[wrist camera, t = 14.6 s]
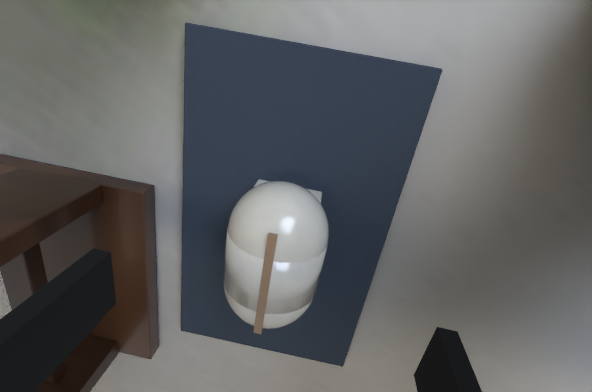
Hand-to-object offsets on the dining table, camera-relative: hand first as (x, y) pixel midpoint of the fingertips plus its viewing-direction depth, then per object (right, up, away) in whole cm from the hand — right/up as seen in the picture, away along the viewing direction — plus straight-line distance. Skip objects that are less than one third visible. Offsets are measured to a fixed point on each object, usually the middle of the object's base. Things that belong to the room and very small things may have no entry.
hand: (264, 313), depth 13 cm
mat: (0, +3, +6) cm, 7 cm away
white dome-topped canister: (0, +3, +6) cm, 6 cm away
